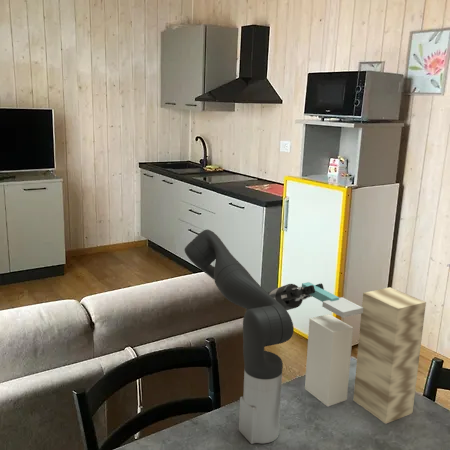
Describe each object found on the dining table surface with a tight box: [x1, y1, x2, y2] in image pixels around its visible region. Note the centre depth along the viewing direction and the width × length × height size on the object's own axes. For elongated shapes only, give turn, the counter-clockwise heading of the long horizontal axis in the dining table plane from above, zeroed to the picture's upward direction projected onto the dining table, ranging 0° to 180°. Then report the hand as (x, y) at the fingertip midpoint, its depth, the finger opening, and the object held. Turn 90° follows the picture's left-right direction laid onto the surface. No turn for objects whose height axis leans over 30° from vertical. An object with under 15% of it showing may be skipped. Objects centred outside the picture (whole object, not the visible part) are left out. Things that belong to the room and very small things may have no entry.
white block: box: [304, 314, 354, 407], centre depth 140 cm, size 7×10×22 cm
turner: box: [301, 281, 363, 318], centre depth 138 cm, size 7×20×2 cm, turn 29°
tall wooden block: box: [353, 286, 427, 425], centre depth 134 cm, size 10×12×32 cm
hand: (317, 287), depth 142 cm, fingers closed on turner, 2 cm apart
